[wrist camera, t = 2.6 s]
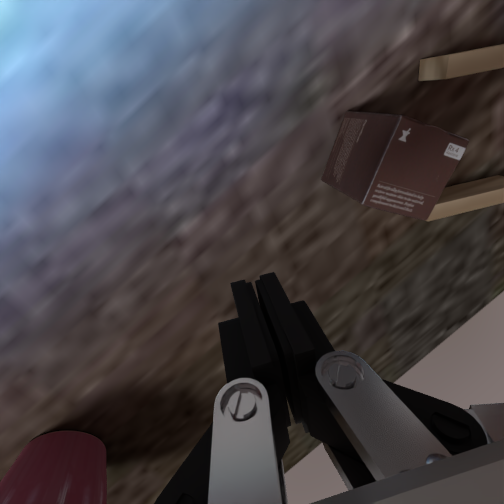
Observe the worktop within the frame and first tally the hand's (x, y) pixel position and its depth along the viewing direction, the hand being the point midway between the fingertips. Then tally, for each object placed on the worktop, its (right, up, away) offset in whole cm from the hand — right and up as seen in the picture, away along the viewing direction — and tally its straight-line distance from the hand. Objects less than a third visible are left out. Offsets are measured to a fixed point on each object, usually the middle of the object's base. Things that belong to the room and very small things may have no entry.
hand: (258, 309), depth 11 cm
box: (+9, +11, +15) cm, 21 cm away
